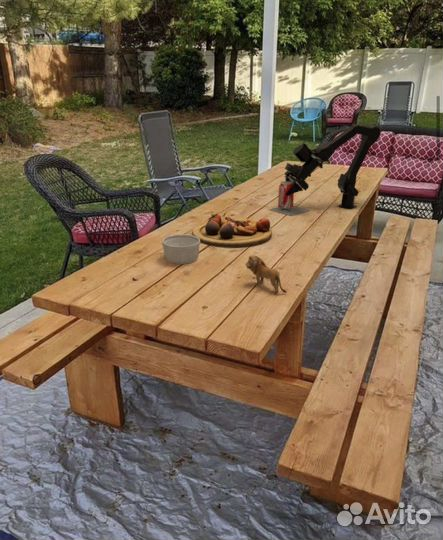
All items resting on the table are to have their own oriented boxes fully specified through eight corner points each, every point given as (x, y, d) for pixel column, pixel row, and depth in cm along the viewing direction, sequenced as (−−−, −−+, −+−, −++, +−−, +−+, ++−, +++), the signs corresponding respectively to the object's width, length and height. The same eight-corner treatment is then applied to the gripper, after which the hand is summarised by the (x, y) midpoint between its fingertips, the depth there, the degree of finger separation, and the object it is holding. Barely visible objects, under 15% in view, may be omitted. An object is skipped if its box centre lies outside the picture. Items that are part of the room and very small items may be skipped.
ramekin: (185, 268, 164) (185, 249, 161) (154, 260, 170) (153, 241, 167) (207, 256, 174) (207, 238, 171) (177, 249, 180) (177, 231, 178)
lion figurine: (242, 283, 153) (243, 256, 149) (252, 278, 157) (253, 251, 153) (281, 296, 144) (283, 268, 141) (291, 291, 148) (293, 263, 144)
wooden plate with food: (279, 228, 207) (280, 209, 204) (261, 252, 179) (261, 230, 176) (208, 222, 216) (208, 203, 213) (180, 243, 188) (179, 223, 185)
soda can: (292, 210, 228) (293, 184, 223) (277, 209, 229) (278, 183, 225) (293, 206, 234) (294, 181, 230) (278, 205, 236) (279, 180, 231)
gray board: (287, 204, 241) (287, 204, 241) (310, 210, 231) (310, 210, 231) (268, 210, 232) (268, 209, 232) (292, 216, 222) (292, 215, 222)
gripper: (289, 153, 232) (266, 177, 234) (303, 160, 215) (278, 186, 217) (304, 169, 236) (281, 193, 239) (319, 177, 220) (294, 202, 222)
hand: (283, 193), depth 229 cm, fingers closed on soda can, 7 cm apart
